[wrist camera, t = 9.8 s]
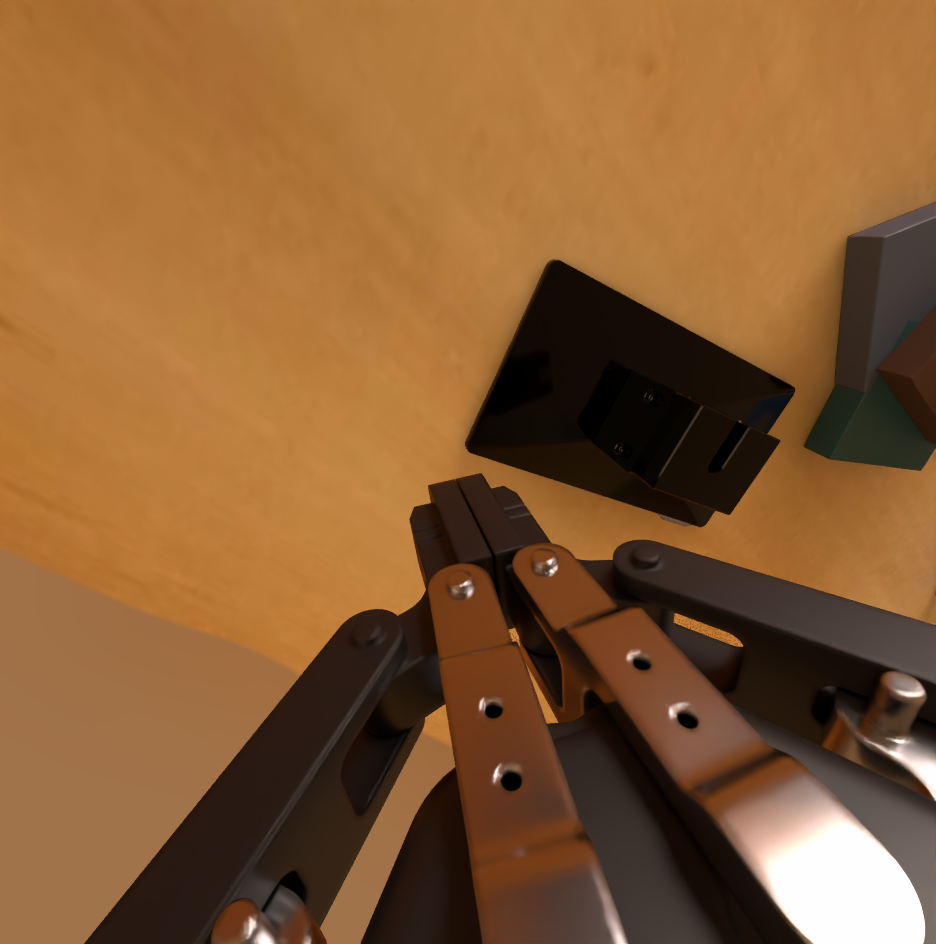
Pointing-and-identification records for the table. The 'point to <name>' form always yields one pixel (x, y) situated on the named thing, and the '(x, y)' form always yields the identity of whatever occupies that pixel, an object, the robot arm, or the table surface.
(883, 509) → the table surface
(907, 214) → the letter tile pile
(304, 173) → the table surface
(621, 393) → the build plate
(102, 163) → the table surface
